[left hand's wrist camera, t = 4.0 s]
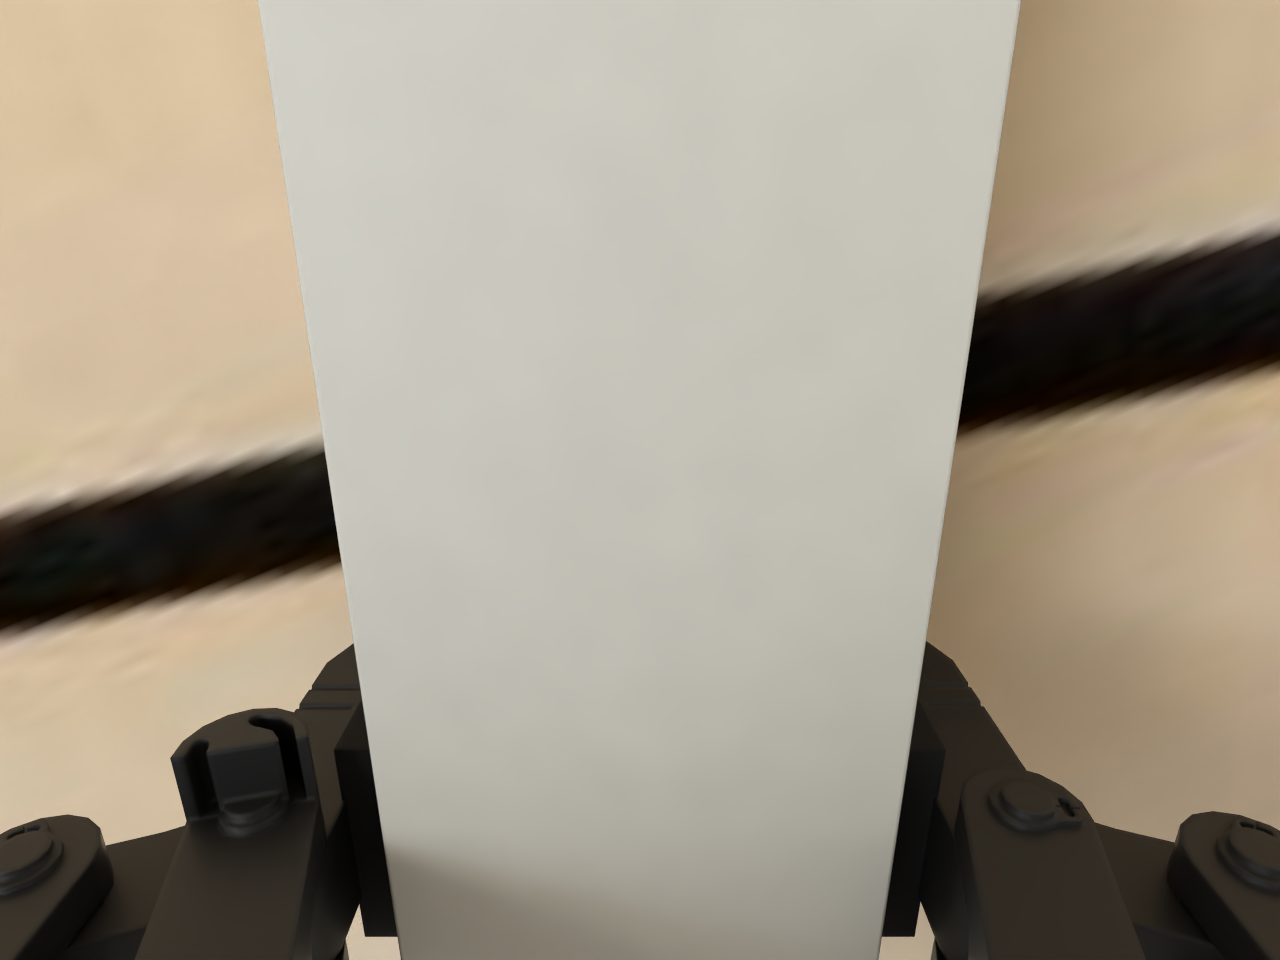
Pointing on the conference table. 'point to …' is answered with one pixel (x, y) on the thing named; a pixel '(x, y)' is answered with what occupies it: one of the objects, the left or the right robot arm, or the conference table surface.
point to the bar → (639, 443)
